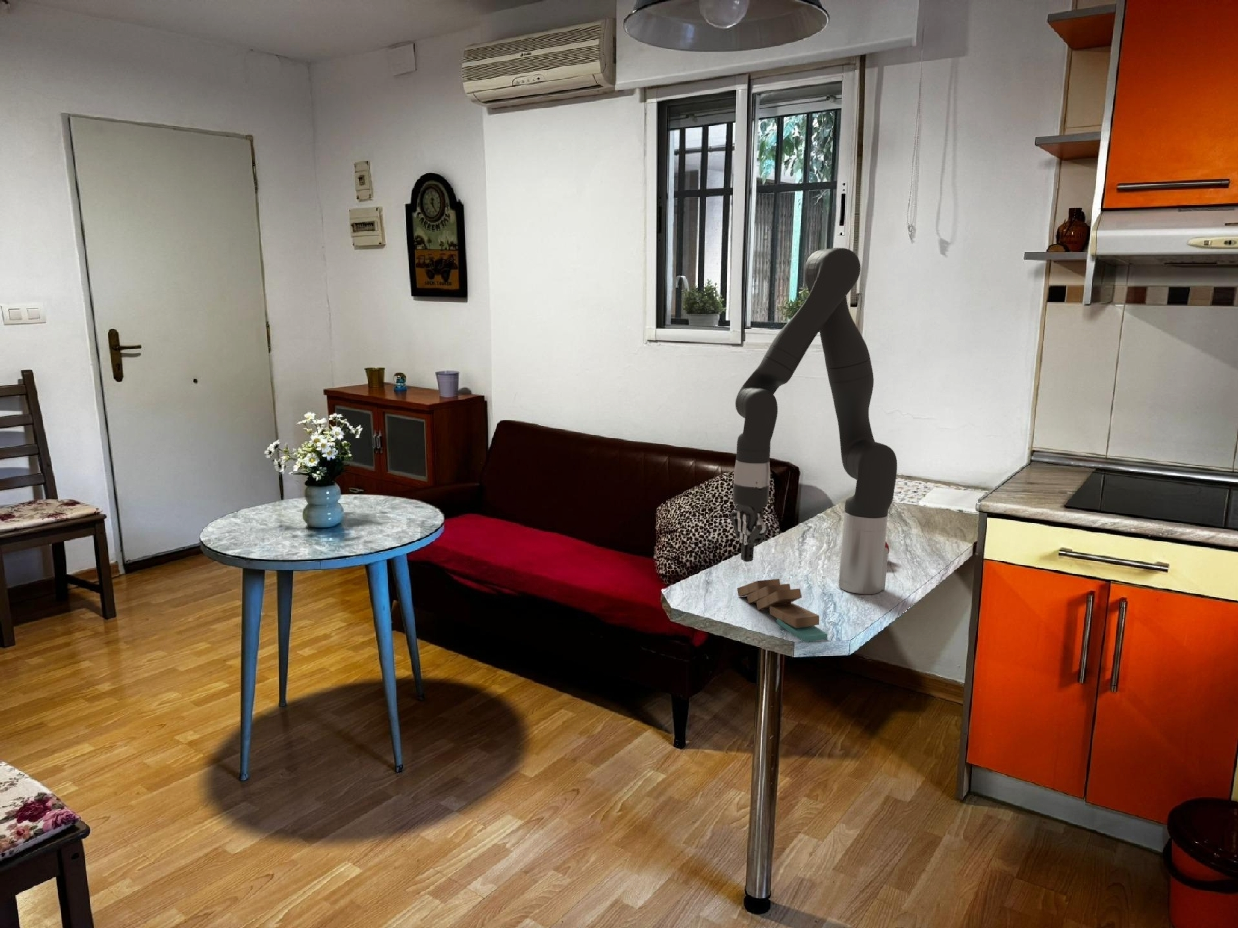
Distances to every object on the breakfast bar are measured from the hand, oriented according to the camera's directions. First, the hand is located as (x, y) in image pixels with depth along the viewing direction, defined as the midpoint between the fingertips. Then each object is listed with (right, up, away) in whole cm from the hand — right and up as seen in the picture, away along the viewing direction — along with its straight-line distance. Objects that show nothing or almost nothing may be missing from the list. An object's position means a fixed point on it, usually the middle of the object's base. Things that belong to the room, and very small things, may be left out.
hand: (746, 560), depth 184 cm
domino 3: (+3, -8, -8) cm, 12 cm away
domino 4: (+5, -8, -12) cm, 16 cm away
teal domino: (+6, -10, -14) cm, 19 cm away
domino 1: (0, -7, 0) cm, 7 cm away
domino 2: (+2, -8, -4) cm, 9 cm away
